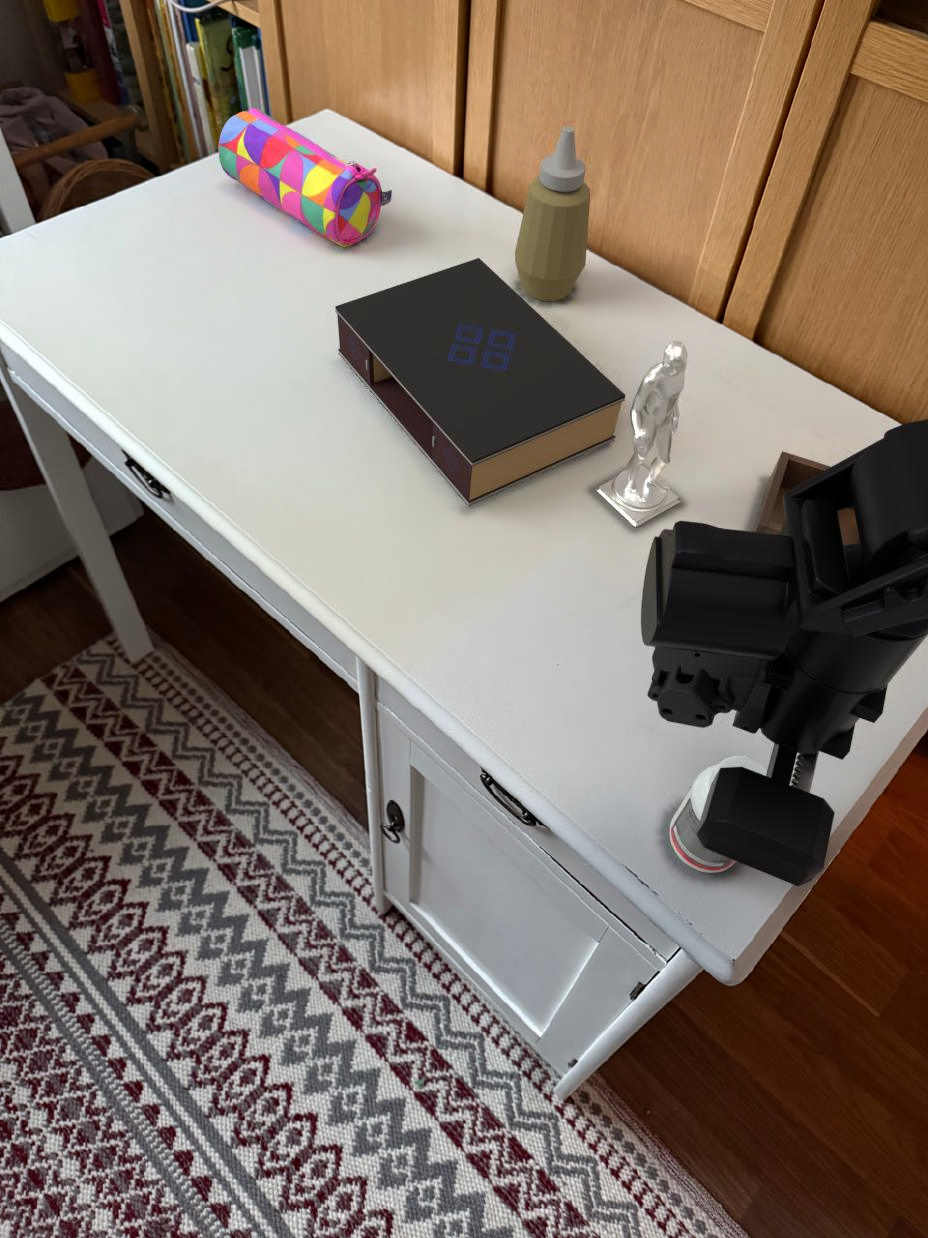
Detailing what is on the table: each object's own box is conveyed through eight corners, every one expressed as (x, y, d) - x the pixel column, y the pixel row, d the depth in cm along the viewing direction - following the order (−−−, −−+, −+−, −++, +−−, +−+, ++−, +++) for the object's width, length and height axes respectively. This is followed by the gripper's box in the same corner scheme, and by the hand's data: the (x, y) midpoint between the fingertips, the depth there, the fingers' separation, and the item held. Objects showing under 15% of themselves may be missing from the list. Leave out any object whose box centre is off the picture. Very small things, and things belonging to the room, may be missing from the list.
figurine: (613, 540, 83) (657, 386, 68) (574, 490, 87) (608, 333, 72) (687, 512, 86) (744, 357, 71) (646, 464, 89) (693, 307, 74)
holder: (871, 515, 87) (890, 485, 83) (854, 591, 81) (873, 562, 78) (768, 481, 89) (782, 450, 85) (744, 553, 83) (758, 523, 80)
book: (467, 512, 84) (471, 461, 79) (338, 359, 96) (334, 305, 90) (613, 446, 90) (626, 394, 85) (475, 310, 102) (479, 256, 96)
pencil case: (397, 229, 110) (396, 155, 103) (344, 262, 106) (339, 187, 99) (271, 163, 118) (262, 89, 110) (216, 191, 113) (203, 117, 106)
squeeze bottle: (497, 289, 104) (512, 131, 90) (535, 258, 108) (555, 100, 94) (557, 317, 102) (582, 159, 87) (593, 283, 106) (623, 126, 91)
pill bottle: (738, 882, 65) (784, 830, 57) (664, 865, 66) (699, 810, 58) (742, 814, 68) (786, 755, 60) (671, 797, 69) (706, 736, 61)
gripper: (729, 474, 52) (667, 627, 65) (634, 735, 42) (583, 856, 55) (924, 538, 50) (821, 683, 63) (875, 828, 40) (763, 932, 53)
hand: (747, 779), depth 59 cm, fingers open, 9 cm apart
